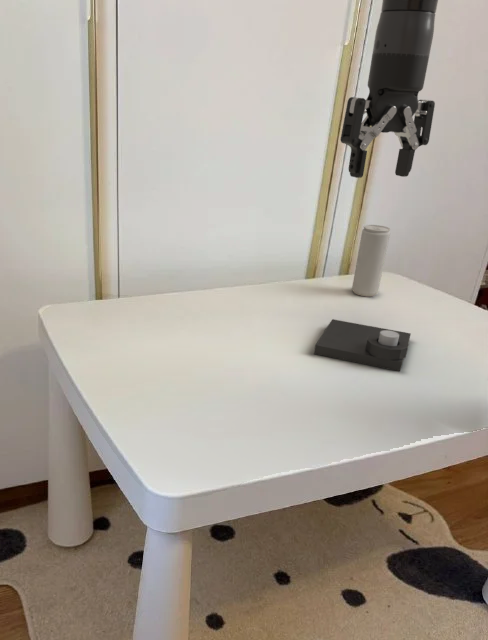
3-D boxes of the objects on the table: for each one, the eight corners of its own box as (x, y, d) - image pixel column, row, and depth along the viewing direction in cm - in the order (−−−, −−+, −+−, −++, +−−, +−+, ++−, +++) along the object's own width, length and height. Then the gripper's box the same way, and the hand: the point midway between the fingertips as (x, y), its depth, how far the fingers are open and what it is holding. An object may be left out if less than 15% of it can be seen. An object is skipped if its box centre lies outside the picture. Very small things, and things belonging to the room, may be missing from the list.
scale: (410, 342, 96) (414, 323, 95) (401, 372, 86) (406, 352, 85) (330, 327, 100) (333, 309, 99) (313, 354, 90) (316, 335, 89)
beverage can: (373, 289, 119) (386, 225, 114) (381, 297, 115) (394, 231, 109) (348, 288, 119) (359, 224, 114) (355, 296, 115) (367, 230, 109)
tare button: (398, 342, 89) (400, 332, 88) (395, 349, 87) (398, 338, 86) (379, 339, 90) (381, 328, 89) (376, 345, 88) (378, 335, 87)
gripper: (377, 48, 80) (356, 182, 88) (460, 54, 86) (433, 179, 93) (341, 48, 86) (324, 173, 94) (421, 54, 92) (399, 171, 99)
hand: (379, 176), depth 94 cm, fingers open, 8 cm apart
